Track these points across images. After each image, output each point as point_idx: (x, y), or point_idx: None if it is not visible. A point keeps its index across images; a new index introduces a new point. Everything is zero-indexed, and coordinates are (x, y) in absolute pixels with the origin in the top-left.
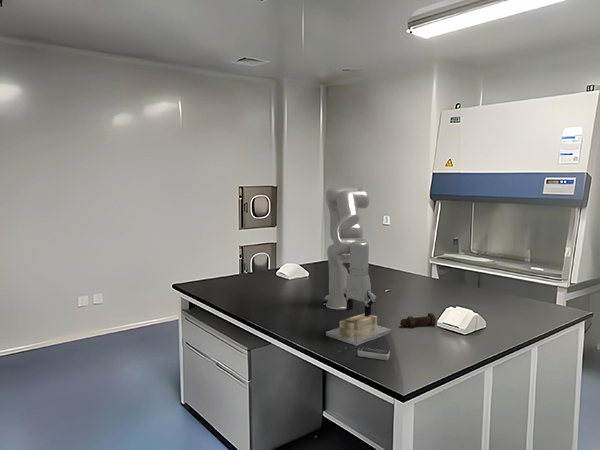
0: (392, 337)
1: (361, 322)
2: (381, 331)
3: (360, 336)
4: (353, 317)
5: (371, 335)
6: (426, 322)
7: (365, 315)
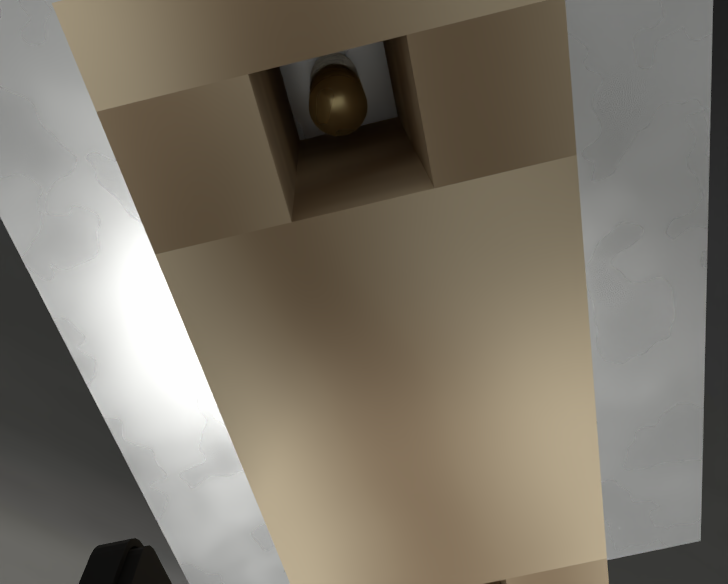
0: (72, 542)
1: (207, 363)
2: (193, 526)
3: (109, 160)
4: (552, 384)
5: (90, 338)
6: None
7: (97, 551)
